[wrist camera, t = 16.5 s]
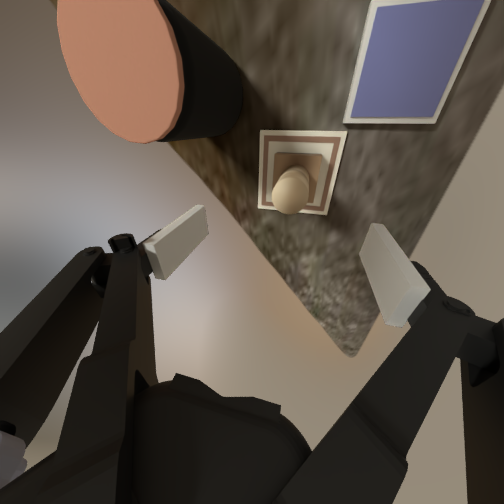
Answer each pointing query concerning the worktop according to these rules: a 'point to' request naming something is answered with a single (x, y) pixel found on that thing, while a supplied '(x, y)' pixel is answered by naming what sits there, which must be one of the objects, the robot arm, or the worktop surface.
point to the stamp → (294, 180)
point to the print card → (301, 142)
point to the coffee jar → (148, 70)
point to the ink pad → (410, 59)
